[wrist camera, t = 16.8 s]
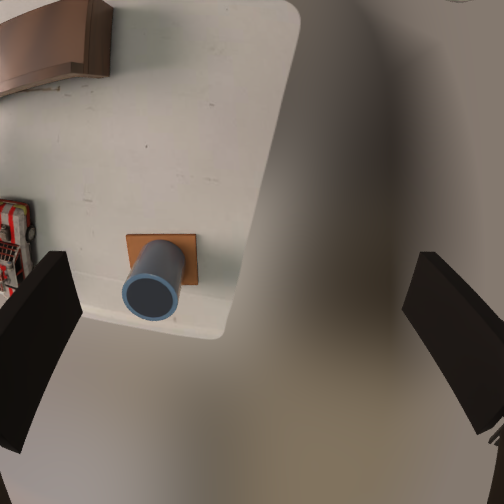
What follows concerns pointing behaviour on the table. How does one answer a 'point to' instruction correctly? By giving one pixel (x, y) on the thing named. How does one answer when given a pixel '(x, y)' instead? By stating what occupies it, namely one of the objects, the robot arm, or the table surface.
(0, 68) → the shelf
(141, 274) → the cup
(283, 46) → the table surface
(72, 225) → the table surface
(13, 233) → the toy car
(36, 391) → the robot arm
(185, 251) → the coaster
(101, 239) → the table surface
